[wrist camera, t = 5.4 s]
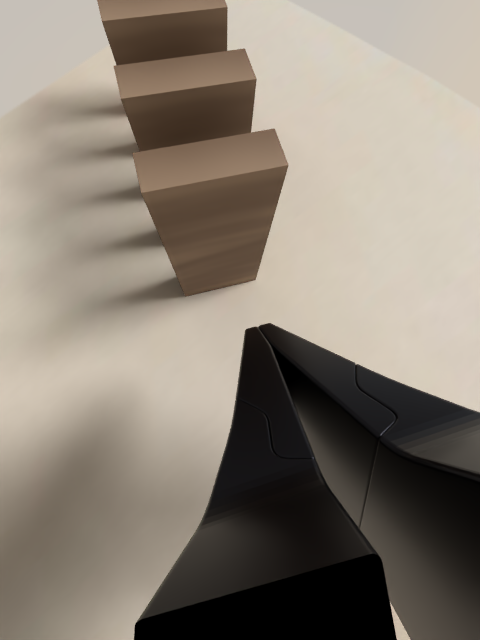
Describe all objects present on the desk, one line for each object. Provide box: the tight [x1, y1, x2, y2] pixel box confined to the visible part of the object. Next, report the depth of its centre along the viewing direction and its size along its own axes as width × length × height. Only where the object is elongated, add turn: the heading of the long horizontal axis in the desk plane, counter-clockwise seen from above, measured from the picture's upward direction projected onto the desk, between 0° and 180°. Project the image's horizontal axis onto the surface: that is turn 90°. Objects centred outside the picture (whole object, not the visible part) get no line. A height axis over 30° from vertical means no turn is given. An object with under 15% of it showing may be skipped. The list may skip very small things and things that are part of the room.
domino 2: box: [114, 49, 256, 152], centre depth 15 cm, size 2×5×10 cm, turn 106°
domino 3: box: [97, 0, 227, 65], centre depth 16 cm, size 2×5×10 cm, turn 106°
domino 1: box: [132, 129, 288, 297], centre depth 14 cm, size 2×5×10 cm, turn 106°
